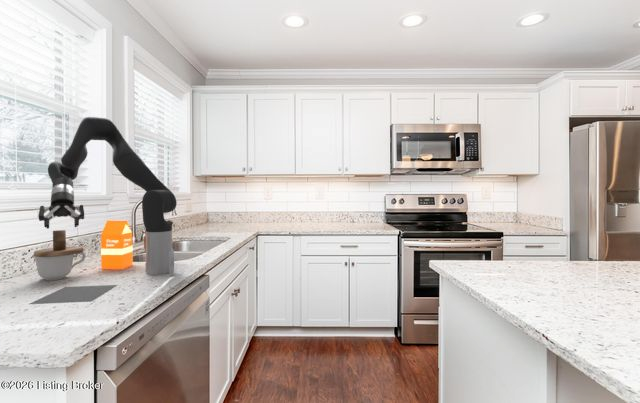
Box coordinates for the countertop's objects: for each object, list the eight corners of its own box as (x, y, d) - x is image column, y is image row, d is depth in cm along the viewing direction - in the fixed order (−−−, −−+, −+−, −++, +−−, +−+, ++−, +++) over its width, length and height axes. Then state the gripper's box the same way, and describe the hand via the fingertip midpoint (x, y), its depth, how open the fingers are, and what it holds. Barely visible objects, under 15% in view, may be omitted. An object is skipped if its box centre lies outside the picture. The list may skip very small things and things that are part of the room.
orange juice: (122, 269, 133) (121, 221, 132) (101, 269, 132) (100, 221, 132) (133, 264, 140) (132, 219, 140) (112, 264, 140) (112, 219, 140)
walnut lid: (91, 249, 123) (91, 228, 123) (69, 256, 110) (68, 232, 109) (51, 250, 121) (50, 228, 121) (23, 257, 107) (22, 233, 107)
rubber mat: (117, 287, 107) (117, 284, 107) (91, 304, 91) (91, 301, 91) (65, 289, 104) (65, 286, 104) (28, 307, 88) (28, 303, 88)
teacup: (88, 279, 117) (88, 252, 116) (34, 288, 106) (33, 258, 106) (82, 273, 125) (82, 248, 125) (32, 280, 115) (31, 253, 114)
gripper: (39, 190, 127) (36, 221, 118) (83, 190, 135) (84, 219, 126) (41, 203, 131) (38, 234, 122) (83, 202, 140) (84, 231, 131)
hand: (62, 226), depth 124 cm, fingers open, 8 cm apart
